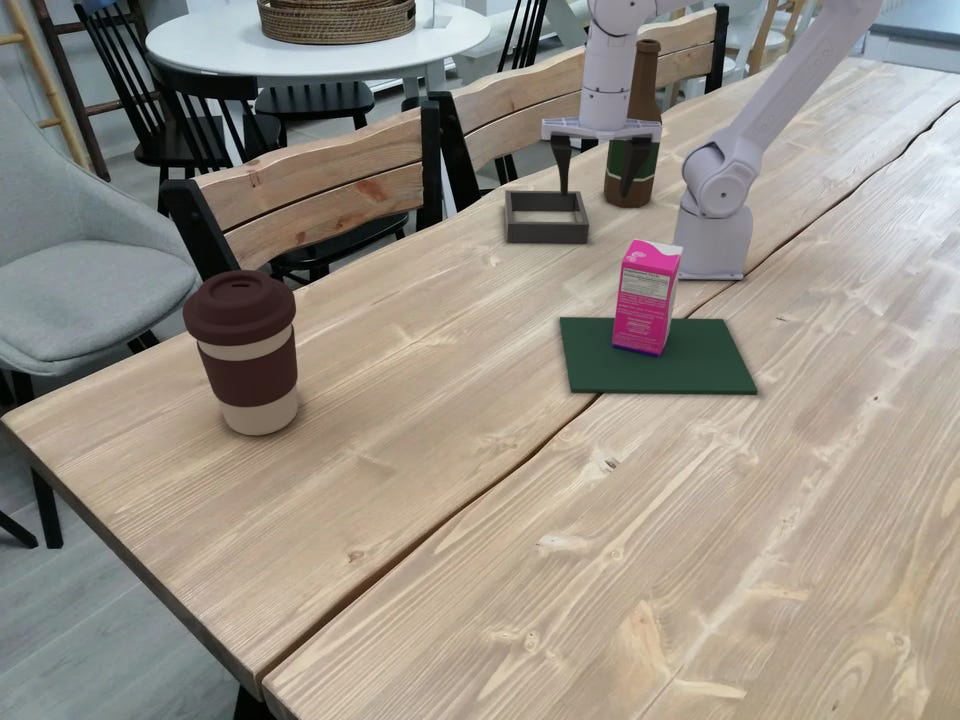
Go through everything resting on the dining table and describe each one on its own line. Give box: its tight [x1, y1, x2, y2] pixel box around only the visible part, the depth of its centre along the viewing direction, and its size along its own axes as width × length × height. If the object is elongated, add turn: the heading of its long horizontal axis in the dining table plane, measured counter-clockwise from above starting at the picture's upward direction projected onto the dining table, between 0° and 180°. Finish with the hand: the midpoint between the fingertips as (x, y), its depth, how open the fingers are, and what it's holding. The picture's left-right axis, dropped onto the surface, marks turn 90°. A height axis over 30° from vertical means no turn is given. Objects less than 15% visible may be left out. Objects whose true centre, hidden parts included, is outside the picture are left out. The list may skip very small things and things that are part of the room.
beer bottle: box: [603, 38, 663, 208], centre depth 112 cm, size 8×8×24 cm
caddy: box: [504, 189, 590, 244], centre depth 110 cm, size 12×12×3 cm
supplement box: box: [612, 238, 684, 358], centre depth 83 cm, size 6×6×12 cm
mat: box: [559, 316, 759, 395], centre depth 85 cm, size 20×14×1 cm
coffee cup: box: [181, 269, 299, 436], centre depth 71 cm, size 10×10×15 cm
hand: (593, 193), depth 95 cm, fingers open, 7 cm apart
